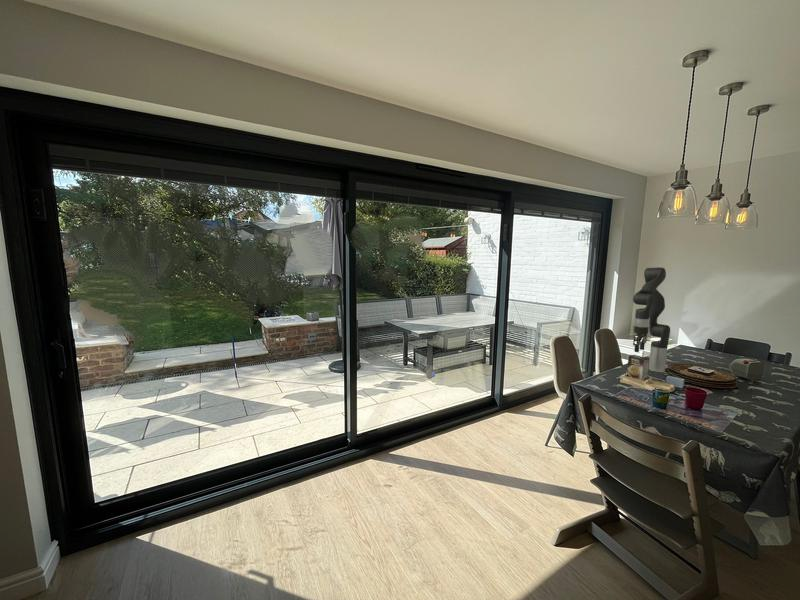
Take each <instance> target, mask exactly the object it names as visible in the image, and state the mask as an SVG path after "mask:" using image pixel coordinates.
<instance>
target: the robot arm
mask: <svg viewBox="0 0 800 600" xmlns="http://www.w3.org/2000/svg"><path fill="white" fill-rule="evenodd" d="M643 276H644V277H643V278H644V282H645V284H643V285H642V287H641V289H640V290H639V291H637V292H635V294H634V295H633V297H632V302H633V303H634V304H635V305H637V306H638V305H641V306H645V307H643V308H642V307H641V308H636V310H635V315H634V322H633V333H635V334H636V335H633V341H632V342H633V344H632V345H633V346H634V352H635V353H639V352H640V350H641V351H644V350H645V345H646V343H647V340H648V337H647V336H648V334H650V336H652V337H656V338H660V339H659V340H653V341H651V342H650V352H649V364H648V371H652V372H657V373H665V372H666V364H667V354H668V345H669V343H670V342H669V341H670V335H671V327H670V326H669V325H667V324H661V323H658V319H659V316H660V315H661V314H662V313H663V311H664V310H665V308H666V301H665V297H664V295H663V294H662V293H660V291H659V290H658V289H657V288H658V287H659V286H660V285H661V284H662V283H663V282H664V280H666V277H667V272H666V269H665V267H646V268H645V270H644V275H643Z"/></svg>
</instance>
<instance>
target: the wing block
mask: <svg viewBox="0 0 800 600" xmlns="http://www.w3.org/2000/svg"><path fill="white" fill-rule="evenodd" d="M665 379H666V380H665V383H668V384H672V385H675V388H680V389H683V388H684V386H685V378H680V377H676V376H671V375H667V376H666V378H665Z"/></svg>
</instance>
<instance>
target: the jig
mask: <svg viewBox="0 0 800 600" xmlns="http://www.w3.org/2000/svg"><path fill="white" fill-rule="evenodd" d="M619 383H622V384H627V385H630V386H634V387H638V388H641V389H646V390H649V391H652V390H653V389H655V388H656V389H663V390H668V391H670V392H671V393H672V392H674V391H675V390H676V387H675V385H672V384H668V383H666V382H662V381H659V380H655V379H654V378H652V377H650V376H649V377H648V376H647V380H645V381H643V380H639V379H635V378H631V377H627V372H626V373H624V374H621V375H620V380H619Z"/></svg>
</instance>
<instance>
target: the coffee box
mask: <svg viewBox="0 0 800 600" xmlns="http://www.w3.org/2000/svg"><path fill="white" fill-rule="evenodd" d="M649 360H650V357H644V356H641V355H637V354H631V355H628V359H627V369H626V371H627V372H626V373H627V377H631V378H635V379H639V380H643V381H645V380H647V377H648V372H649Z"/></svg>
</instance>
